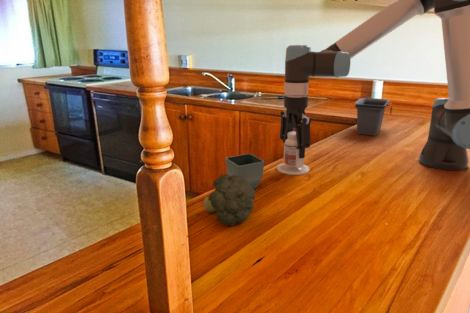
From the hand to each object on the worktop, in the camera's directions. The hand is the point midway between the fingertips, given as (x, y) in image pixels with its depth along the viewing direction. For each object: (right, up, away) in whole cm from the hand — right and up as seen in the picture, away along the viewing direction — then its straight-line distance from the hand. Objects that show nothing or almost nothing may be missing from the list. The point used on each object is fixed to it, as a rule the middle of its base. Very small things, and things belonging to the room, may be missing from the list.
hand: (293, 163), depth 126 cm
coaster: (0, -2, +1) cm, 2 cm away
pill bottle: (0, 0, 0) cm, 1 cm away
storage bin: (+44, +14, +49) cm, 68 cm away
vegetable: (-22, -13, -32) cm, 41 cm away
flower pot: (-17, -7, -14) cm, 23 cm away
